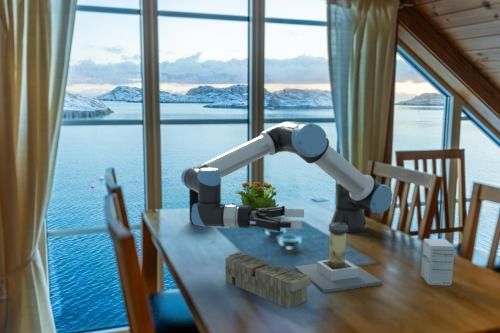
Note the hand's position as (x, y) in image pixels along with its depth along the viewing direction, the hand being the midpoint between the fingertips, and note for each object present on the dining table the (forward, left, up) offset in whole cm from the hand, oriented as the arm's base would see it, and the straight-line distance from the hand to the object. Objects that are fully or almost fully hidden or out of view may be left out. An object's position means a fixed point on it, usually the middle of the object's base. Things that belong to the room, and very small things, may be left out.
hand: (303, 218), depth 157 cm
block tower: (+18, +11, -18) cm, 27 cm away
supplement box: (-36, +22, -18) cm, 46 cm away
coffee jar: (+17, -66, -18) cm, 71 cm away
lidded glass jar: (-8, +8, -16) cm, 20 cm away
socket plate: (-8, +9, -17) cm, 21 cm away
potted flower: (-11, -64, -18) cm, 68 cm away
